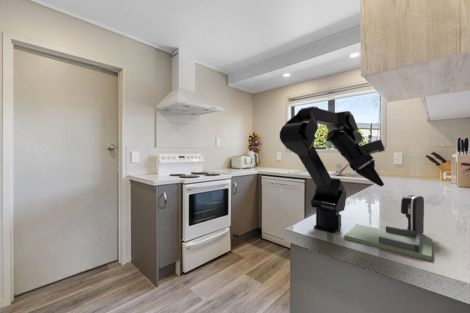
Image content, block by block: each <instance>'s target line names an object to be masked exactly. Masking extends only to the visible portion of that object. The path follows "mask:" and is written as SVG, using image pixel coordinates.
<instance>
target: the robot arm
mask: <svg viewBox="0 0 470 313" xmlns="http://www.w3.org/2000/svg"><path fill="white" fill-rule="evenodd" d="M318 125H324V126H326V129H329V130H330V131H329V132H328V133H327V134H326V142H330V144H332V146H333V147H334V148H335V149H336V150H337V151H338V153H339V154H340V155H341V156H342V157H343V158H344V159H345V160H346V161H347V162H348V164H349V168H351V170H352V171H353V172H355V173H356V174H357V175H358V176H359V175H360V176H361V177H363V178H364V179H366V180H368V181H370V182H372V183H373V184H375V185H377V186H379V187H381V188H382V187H383V186H385V183H384V182H383V180H382V178H381V177H380V175H379V173H378V172H377V170H376V169H375V167H376V163H375V162H376V161H375V159H374V157H373V156H372V154H375V153H381V152H384V151H385V146H384V144H383V141H382V139H378V140H373V141H370V142H367V143H365V144H362V145H360V144H361V143H362V140H363V135H362V133H361V132H360V131H359V127H358V125H357V122H356V119H355V117H354V115H353V114H352V112H351V111H349V110H346V111H338V112H335V111H331V110H327V109H324V108H319V107H318V106H314V105H313V106H308V107H302V108H301V109H299V110H298V111H297V113H296V114H295V115H294V116H292V117H291V118H290V119H289V120H287V121H286V123H285V124H284V125H283V126H282V127H281V129H280V132H279V140H280V142H281V143H282V145H284V147H285V148H286V149H287V150H289V151H290V152H293V153H294V155H295V154H296V155H297V156H298V159H299V160H300V162H301V163H302V164H303V166H304V168H305V170H306V171H307V172H308V174H309V176H310V178H311V179H312V181H313V183H314V184H315V186H316V187H315V189H314V195H313V196H312V198H311V200H310V204H311V208H313V209H314V208H315V225H314V226H313V228H314V229H316V230H322V231H324V232H329V233H335V234H336V232H338V231H339V230H340V229H342V215H341V214H340V212H343V211H345V209H346V201H347V192H346V190H345V186H344V185H343V183H342V181H341V179H340V178H335V177H331V175H330V173H329V171H328V170H327V168H326V165H325V164H324V162H323V161H322V158H321V157H320V155H319V154H318V151H317V150H316V148H315V141H316V132H317V131H318V129H319V126H318Z"/></svg>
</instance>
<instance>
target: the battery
mask: <svg viewBox="0 0 470 313" xmlns="http://www.w3.org/2000/svg"><path fill="white" fill-rule="evenodd" d="M400 213H401V214H403V215H405V218H407V229H406V230H412V231H417V232H421V235H423V234H424V229H425V227H424V224H425V223H424V222H425V220H424V219H425V199H424V197H423V196H421V195H415V194H409V195H406V196H403V198H402V199H401V202H400Z"/></svg>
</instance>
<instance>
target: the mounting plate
mask: <svg viewBox="0 0 470 313" xmlns="http://www.w3.org/2000/svg"><path fill="white" fill-rule="evenodd" d="M343 239H344V240H347V241H350V242H355V243H358V244H363V245H367V246H371V247H375V248H378V249H382V250H386V251H391V252H394V253H399V254H403V255H405V256H410V257H415V258H419V259H422V260H426V261H430V262H432V261H433V260H432V258H433V239H432V238H429V237H428V238H427V237H423V236H422V234H421V232H417V231H412V230H407V229H406V228H400V227H395V226H391V225H385V229H384V228H378V227H373V226H367V225H363V224H360V223H359V224H358V223H356V224H355V225H354V226H353V227H351V229H350V230H348V231H347V232H346V233H345V234H344V235H343Z"/></svg>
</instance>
